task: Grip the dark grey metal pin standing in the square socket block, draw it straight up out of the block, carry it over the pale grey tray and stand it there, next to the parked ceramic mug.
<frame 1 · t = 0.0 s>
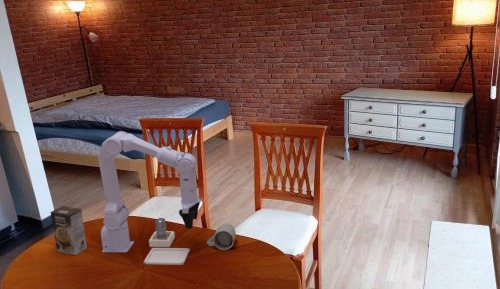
hand: (191, 223, 161), 10 cm above the table, fingers open, 7 cm apart
tray: (167, 258, 158), on the table
square socket block: (162, 243, 169), on the table
steel pin: (162, 241, 169), resting on square socket block
coffee box: (72, 250, 167), on the table
ceramic mug: (221, 245, 165), on the table
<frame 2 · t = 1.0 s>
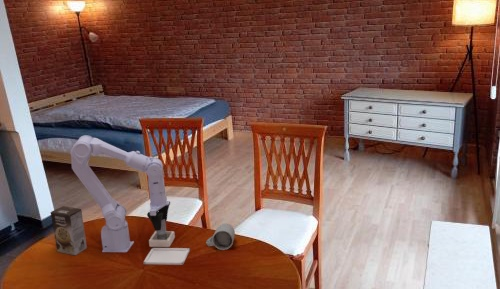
hand: (160, 225, 167), 7 cm above the table, fingers open, 7 cm apart
nothing on the table moved.
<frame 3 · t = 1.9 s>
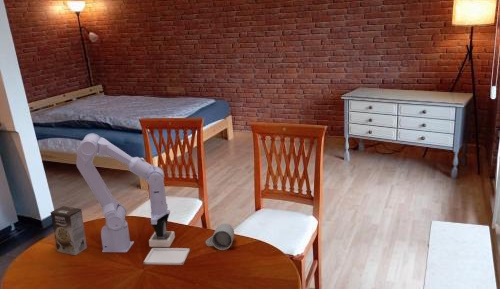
hand: (161, 233, 168), 4 cm above the table, fingers closed on steel pin, 4 cm apart
steel pin: (162, 241, 169), resting on square socket block, touching gripper
everything else where it was.
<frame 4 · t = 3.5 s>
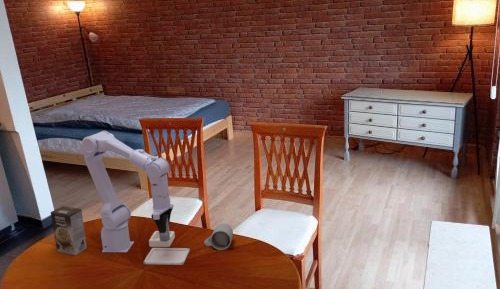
hand: (164, 229, 157), 10 cm above the table, fingers closed on steel pin, 4 cm apart
steel pin: (164, 239, 158), point 7 cm above the table, touching gripper
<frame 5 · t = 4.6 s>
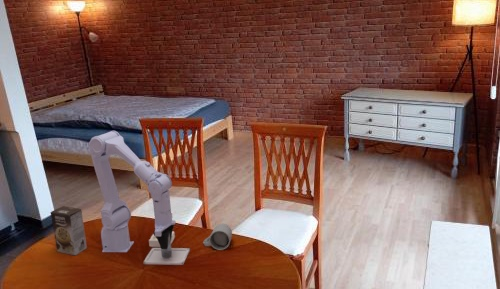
hand: (166, 245, 156), 5 cm above the table, fingers closed on steel pin, 4 cm apart
steel pin: (166, 255, 157), point 1 cm above the table, touching gripper
when the fingers open (4 cm above the table, at t = 5.1 s): steel pin stays where it is, resting on tray.
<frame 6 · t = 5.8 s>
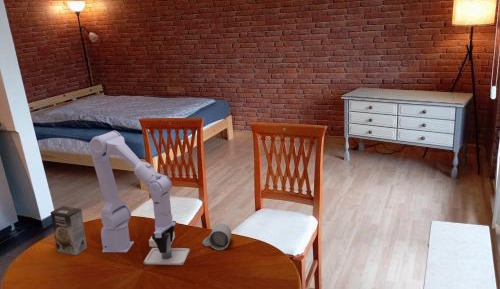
hand: (166, 247, 157), 4 cm above the table, fingers open, 7 cm apart
steel pin: (166, 256, 158), point 1 cm above the table, touching tray
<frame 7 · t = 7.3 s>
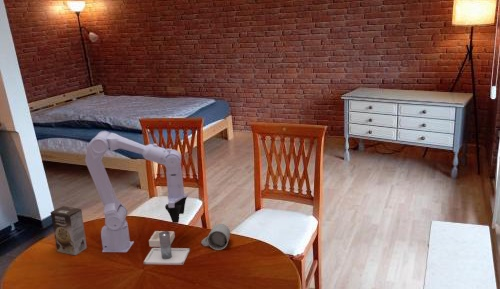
hand: (178, 217, 165), 10 cm above the table, fingers open, 7 cm apart
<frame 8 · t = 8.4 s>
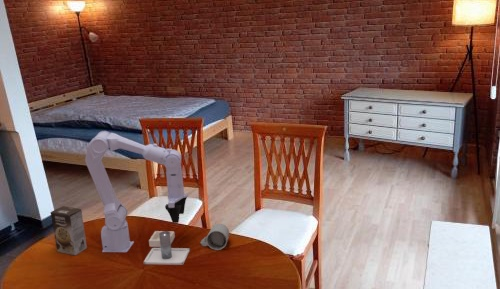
hand: (178, 217, 165), 10 cm above the table, fingers open, 7 cm apart
at the end: steel pin inside the target area on the tray (0.1 cm from its centre), point 0.6 cm above the tray's base; steel pin tilted 0°; the gripper is holding nothing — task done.
